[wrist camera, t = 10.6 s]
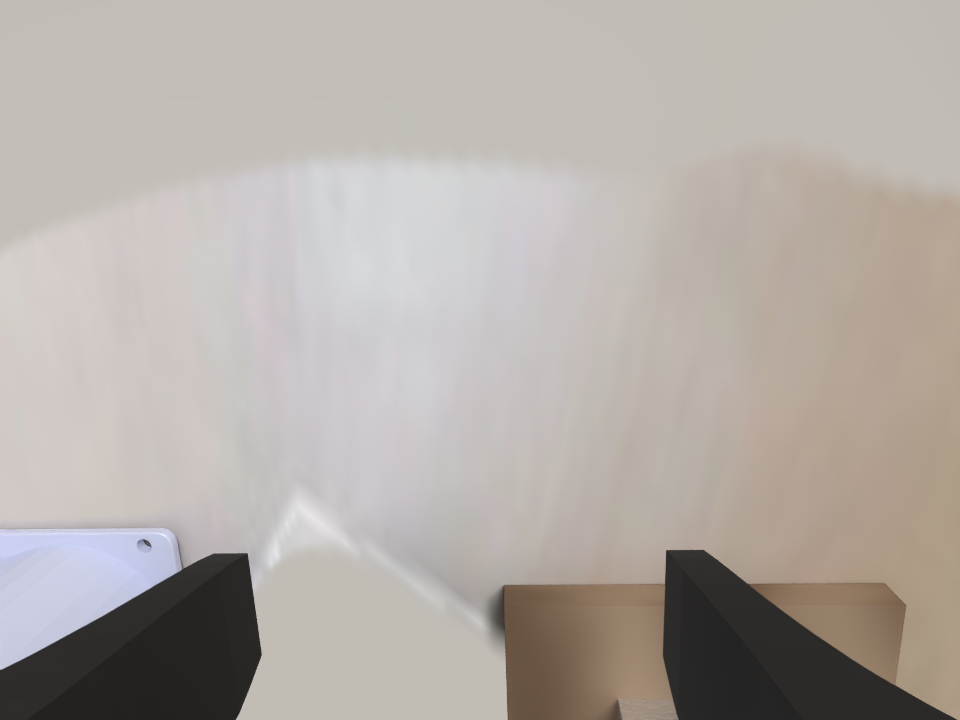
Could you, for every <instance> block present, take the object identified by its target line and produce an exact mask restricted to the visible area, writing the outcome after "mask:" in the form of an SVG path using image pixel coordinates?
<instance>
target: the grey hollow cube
mask: <svg viewBox="0 0 960 720" xmlns="http://www.w3.org/2000/svg"><path fill="white" fill-rule="evenodd" d="M617 720H678V717H677V714H676V710H675V706H674V702H673V700H670V699H618V719H617Z"/></svg>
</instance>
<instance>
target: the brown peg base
mask: <svg viewBox="0 0 960 720" xmlns="http://www.w3.org/2000/svg"><path fill="white" fill-rule="evenodd" d="M748 585H750V586H751V587H752V588H753V589H755V590H756V591H757V592H759V593H760V594H761V595H762V596H764V597H765V598H766V599H768V600H769V601H770V602H772V603H773V604H774V605H776V606H777V607H778V608H779V609H781V610H782V611H783V612H785V613H786V614H788V615H789V616H790V617H792V618H793V619H794V620H796V621H797V622H798V623H800V624H801V625H803V626H804V627H805V628H807V629H808V630H810V631H811V632H812V633H814V634H815V635H817V636H818V637H820V638H821V639H823V640H824V641H826V642H827V643H829V644H830V645H832V646H833V647H835V648H836V649H838V650H839V651H841V652H842V653H844V654H845V655H846V656H848V657H849V658H851V659H852V660H854V661H856V662H857V663H859V664H860V665H862V666H864V667H865V668H867V669H868V670H870V671H872V672H873V673H875V674H876V675H878V676H880V677H881V678H883V679H885V680H887V681H888V682H890V683H892V684H894V685H895V682H896V675H897V668H898V661H899V653H900V646H901V639H902V632H903V624H904V617H905V610H906V605H905V604H904V603H903V601H902V600H901V599H900V598H899V597H898V596H897V595H896V594H895V593H894V592H893V591H892V590H891V589H890V588H889V587H888V586H887V585H886V584H748ZM664 604H665V585H505V587H504V620H505V649H506V679H507V707H508V720H617V719H618V699H670V700H673V698H672V694H671V690H670V685H669V681H668V677H667V672H666V668H665V664H664V659H663V633H664Z"/></svg>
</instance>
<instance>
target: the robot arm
mask: <svg viewBox="0 0 960 720" xmlns="http://www.w3.org/2000/svg"><path fill="white" fill-rule="evenodd" d="M143 539H145V540H147V541H149V542H150V544H151V546H152V547H150V546H147V545H146V544H145V543H144V541H143ZM261 655H262V654H261V646H260V639H259V632H258V625H257V618H256V611H255V603H254V596H253V589H252V582H251V575H250V568H249V560H248V553H236V554H212V555H210V556H208V557H205V558H203V559H201V560H199V561H197V562H195V563H193V564H192V565H190V566H188V567H186V568H184V569H182V567H181V561H180V555H179V549H178V543H177V539H176V536H175V535H174V534H173V533H172V532H171V531H170V530H168V529H165V528H98V529H0V720H236V718H237V716H238V715H239V713H240V710H241V708H242V705H243V703H244V700H245V698H246V695H247V693H248V690H249V688H250V685H251V683H252V680H253V677H254V675H255V672H256V669H257V666H258V664H259V661H260V658H261ZM663 659H664V664H665V668H666V672H667V677H668V681H669V685H670V690H671V694H672V698H673V702H674V706H675V710H676V714H677V717H678V720H956V719H955V718H953V717H951V716H949V715H947V714H945V713H943V712H941V711H940V710H938V709H936V708H934V707H932V706H930V705H928V704H927V703H925V702H923V701H921V700H920V699H918V698H916V697H914V696H913V695H911V694H909V693H907V692H906V691H904V690H902V689H901V688H899V687H897V686H895V685H894V684H892V683H890V682H888V681H887V680H885V679H883V678H881V677H880V676H878V675H876V674H875V673H873V672H872V671H870V670H868V669H867V668H865V667H864V666H862V665H860V664H859V663H857V662H856V661H854V660H852V659H851V658H849V657H848V656H846V655H845V654H844V653H842V652H841V651H839V650H838V649H836V648H835V647H833V646H832V645H830V644H829V643H827V642H826V641H824V640H823V639H821V638H820V637H818V636H817V635H815V634H814V633H812V632H811V631H810V630H808V629H807V628H805V627H804V626H803V625H801V624H800V623H798V622H797V621H796V620H794V619H793V618H792V617H790V616H789V615H788V614H786V613H785V612H783V611H782V610H781V609H779V608H778V607H777V606H776V605H774V604H773V603H772V602H770V601H769V600H768V599H766V598H765V597H764V596H762V595H761V594H760V593H759V592H757V591H756V590H755V589H753V588H752V587H751V586H750V585H748V584H747V583H746V582H745V581H743V580H742V579H741V578H739V577H738V576H737V575H736V574H734V573H733V572H732V571H731V570H729V569H728V568H727V567H726V566H724V565H723V564H722V563H720V562H719V561H718V560H717V559H715V558H714V557H713V556H711V555H710V554H708V553H707V552H706V551H704V550H666V575H665V604H664V633H663Z"/></svg>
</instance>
